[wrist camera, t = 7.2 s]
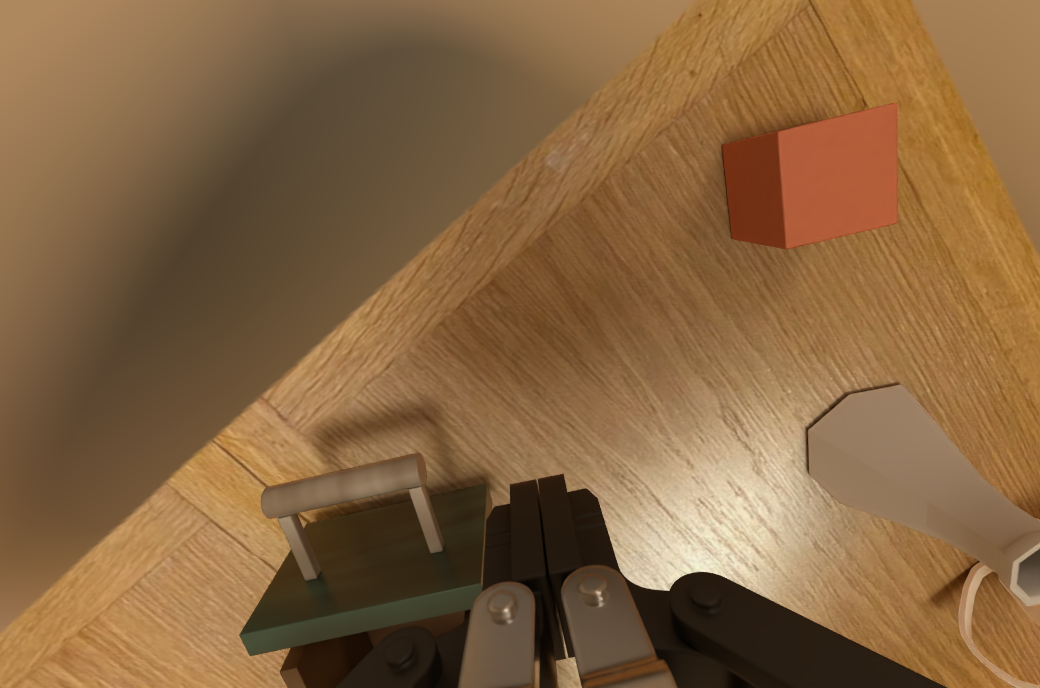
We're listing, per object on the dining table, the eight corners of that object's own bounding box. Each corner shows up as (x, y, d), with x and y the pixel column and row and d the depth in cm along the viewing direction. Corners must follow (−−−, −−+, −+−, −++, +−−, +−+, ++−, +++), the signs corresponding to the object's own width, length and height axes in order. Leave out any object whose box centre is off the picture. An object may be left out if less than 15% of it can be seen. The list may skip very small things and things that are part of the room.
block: (731, 239, 24) (786, 250, 20) (721, 144, 23) (777, 131, 18) (821, 217, 24) (899, 223, 20) (816, 121, 23) (898, 101, 18)
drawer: (273, 447, 26) (188, 539, 19) (463, 403, 26) (448, 481, 19) (376, 686, 31) (338, 829, 24) (536, 653, 31) (546, 788, 24)
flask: (909, 361, 27) (1135, 453, 17) (944, 463, 29) (1165, 598, 19) (784, 422, 28) (933, 543, 18) (826, 517, 29) (981, 673, 20)
